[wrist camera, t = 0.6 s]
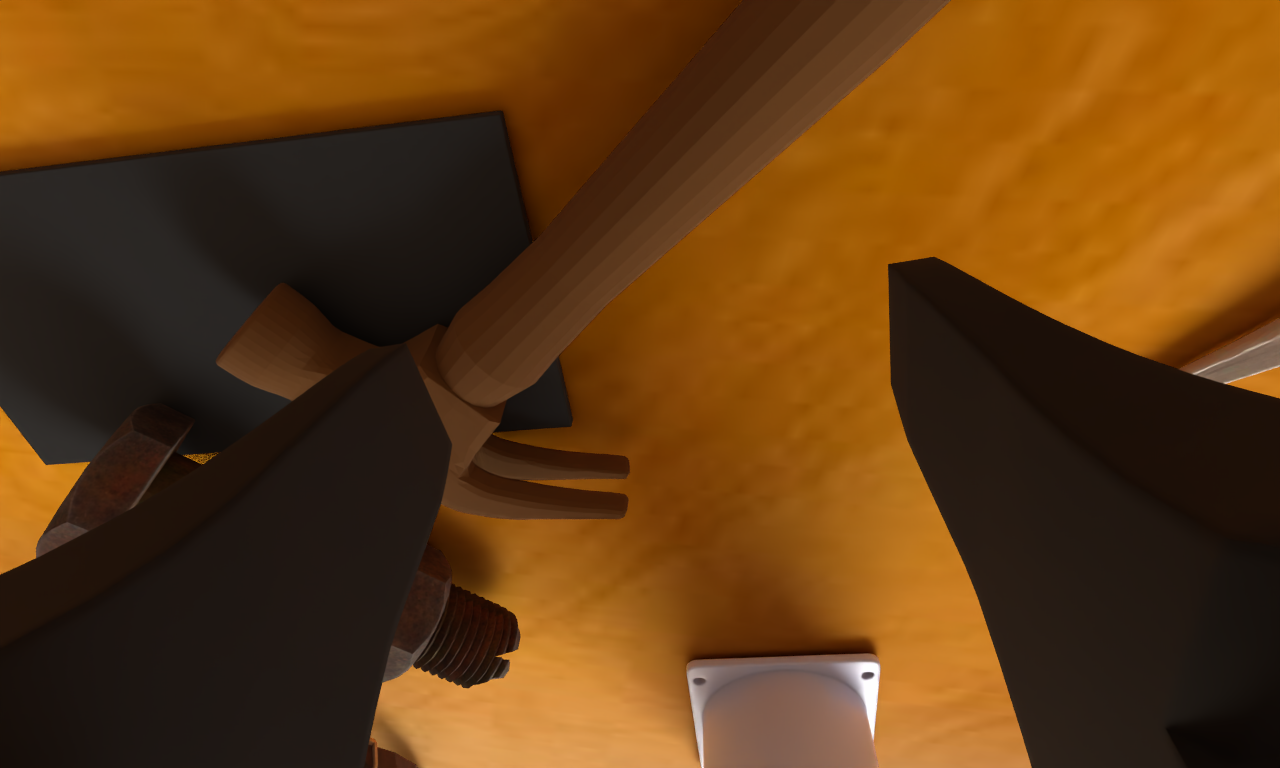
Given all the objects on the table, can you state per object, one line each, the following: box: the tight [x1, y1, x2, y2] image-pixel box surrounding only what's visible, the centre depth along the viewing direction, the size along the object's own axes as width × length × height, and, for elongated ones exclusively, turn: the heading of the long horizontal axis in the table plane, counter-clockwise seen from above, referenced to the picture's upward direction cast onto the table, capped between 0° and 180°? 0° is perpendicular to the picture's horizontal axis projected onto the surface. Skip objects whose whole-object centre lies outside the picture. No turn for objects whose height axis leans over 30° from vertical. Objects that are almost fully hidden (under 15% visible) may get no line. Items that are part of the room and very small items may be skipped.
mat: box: [0, 111, 573, 465], centre depth 23 cm, size 10×19×1 cm, turn 97°
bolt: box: [36, 403, 520, 688], centre depth 26 cm, size 6×5×15 cm
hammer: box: [216, 0, 951, 520], centre depth 17 cm, size 12×3×30 cm
